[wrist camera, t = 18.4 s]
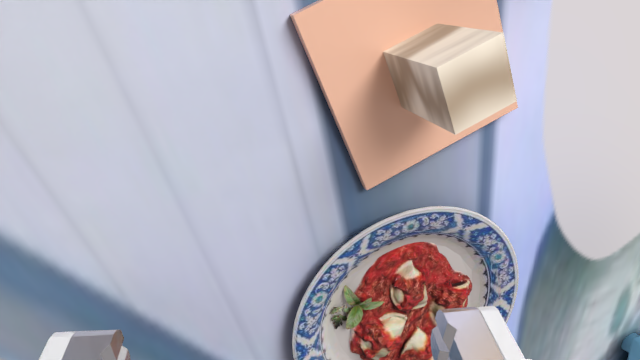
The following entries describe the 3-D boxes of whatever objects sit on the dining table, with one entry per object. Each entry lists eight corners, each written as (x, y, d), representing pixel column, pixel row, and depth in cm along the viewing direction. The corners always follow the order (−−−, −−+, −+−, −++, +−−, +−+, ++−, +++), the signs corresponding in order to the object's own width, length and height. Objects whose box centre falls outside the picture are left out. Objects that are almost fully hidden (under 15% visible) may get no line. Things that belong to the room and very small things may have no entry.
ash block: (382, 51, 35) (436, 67, 28) (437, 23, 36) (503, 32, 28) (401, 107, 37) (455, 134, 30) (452, 80, 38) (516, 101, 31)
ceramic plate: (545, 253, 52) (565, 267, 49) (416, 416, 56) (428, 437, 54) (385, 152, 40) (401, 164, 38) (238, 367, 45) (243, 390, 42)
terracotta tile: (289, 14, 33) (293, 15, 32) (472, -77, 34) (481, -79, 33) (362, 186, 40) (367, 190, 40) (510, 104, 42) (517, 107, 41)
